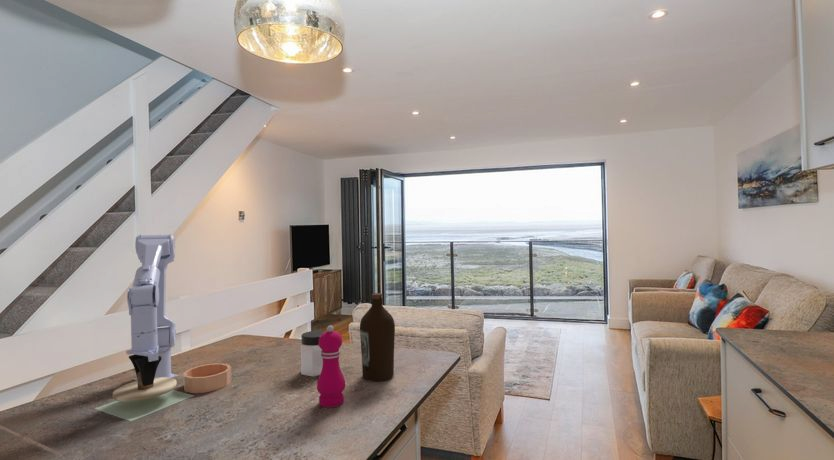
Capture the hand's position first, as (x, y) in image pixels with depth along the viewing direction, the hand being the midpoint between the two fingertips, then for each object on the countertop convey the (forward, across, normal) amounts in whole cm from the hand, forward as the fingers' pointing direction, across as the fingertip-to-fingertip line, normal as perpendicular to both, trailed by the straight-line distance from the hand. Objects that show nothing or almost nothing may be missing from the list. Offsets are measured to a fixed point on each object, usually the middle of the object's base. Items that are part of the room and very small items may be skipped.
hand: (145, 382), depth 108 cm
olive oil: (+6, +33, +52) cm, 62 cm away
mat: (+6, 0, 0) cm, 6 cm away
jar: (+6, +15, +42) cm, 45 cm away
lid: (+2, 0, 0) cm, 2 cm away
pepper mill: (+6, +37, +32) cm, 49 cm away
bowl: (+6, 0, +16) cm, 16 cm away
